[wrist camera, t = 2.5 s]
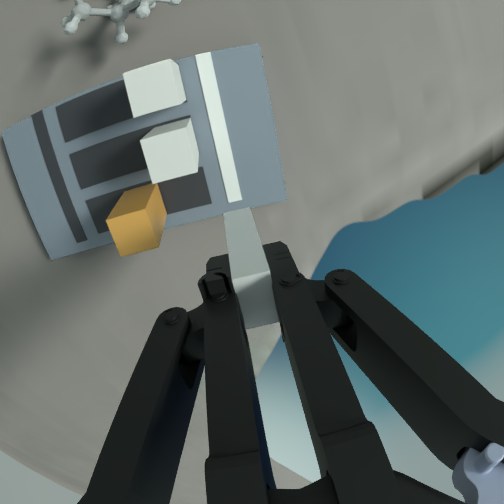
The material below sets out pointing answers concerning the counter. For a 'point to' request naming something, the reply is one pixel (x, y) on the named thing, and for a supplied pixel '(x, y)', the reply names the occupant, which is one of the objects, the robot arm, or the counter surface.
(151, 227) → the toggle
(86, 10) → the molecular model
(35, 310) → the counter surface
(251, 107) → the breaker panel
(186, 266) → the counter surface
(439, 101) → the counter surface
